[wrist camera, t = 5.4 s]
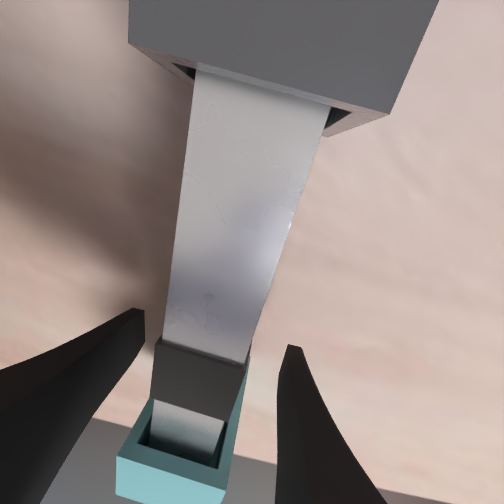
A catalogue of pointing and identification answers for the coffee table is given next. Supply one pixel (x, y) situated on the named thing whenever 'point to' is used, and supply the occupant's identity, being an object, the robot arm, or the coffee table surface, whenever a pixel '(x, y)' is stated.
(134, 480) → the teal socket
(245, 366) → the metal square rod
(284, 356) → the robot arm
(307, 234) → the coffee table surface
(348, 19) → the graphite sleeve
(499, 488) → the coffee table surface
